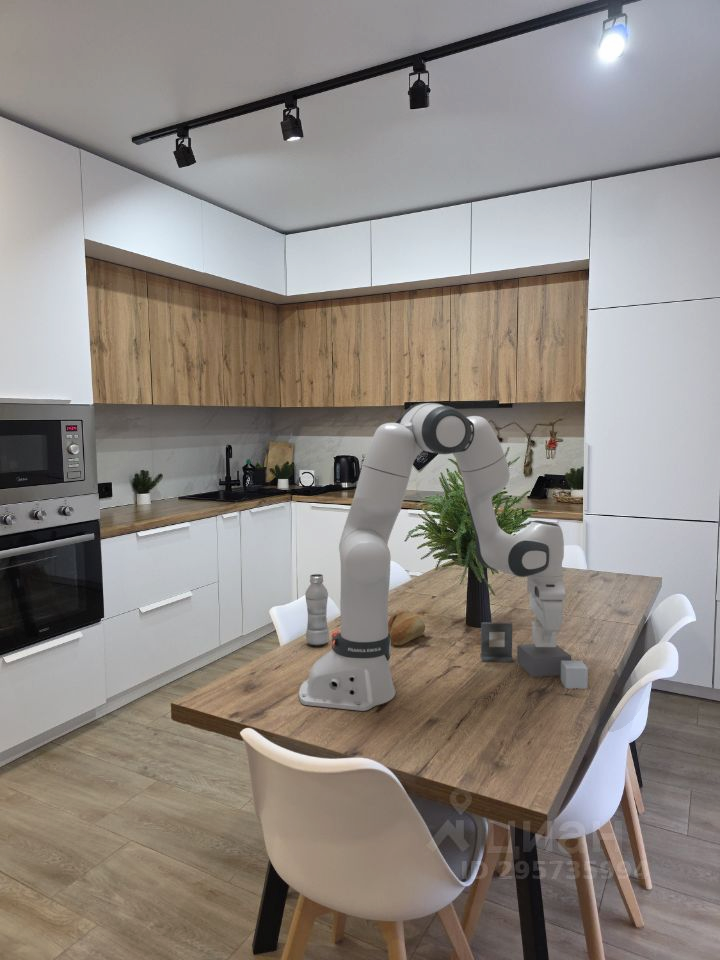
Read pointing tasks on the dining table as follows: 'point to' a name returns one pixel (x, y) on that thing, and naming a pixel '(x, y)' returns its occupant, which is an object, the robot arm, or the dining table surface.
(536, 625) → the ivory cube
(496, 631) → the standing grey panel
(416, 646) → the dining table surface
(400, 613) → the bread roll
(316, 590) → the plastic bottle
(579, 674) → the grey blue cube
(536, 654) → the base block
